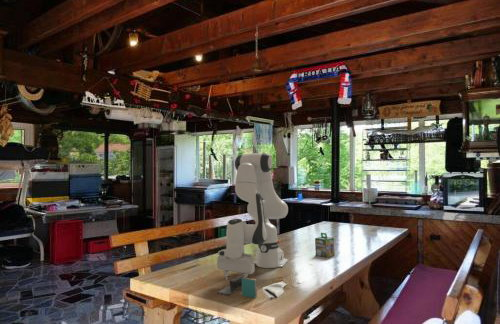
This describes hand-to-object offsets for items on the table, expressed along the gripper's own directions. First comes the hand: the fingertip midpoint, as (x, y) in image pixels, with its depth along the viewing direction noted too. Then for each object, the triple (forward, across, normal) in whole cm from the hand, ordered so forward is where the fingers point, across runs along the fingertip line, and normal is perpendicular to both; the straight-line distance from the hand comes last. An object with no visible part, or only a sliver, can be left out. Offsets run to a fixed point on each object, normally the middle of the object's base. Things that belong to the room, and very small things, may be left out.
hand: (235, 280), depth 174 cm
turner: (+3, 0, 0) cm, 3 cm away
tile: (+3, -12, +7) cm, 15 cm away
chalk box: (+2, -20, -79) cm, 81 cm away
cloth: (+4, -19, -5) cm, 20 cm away
